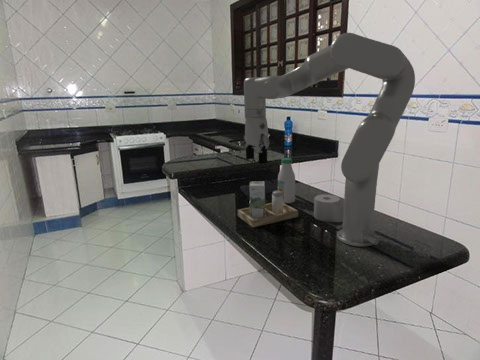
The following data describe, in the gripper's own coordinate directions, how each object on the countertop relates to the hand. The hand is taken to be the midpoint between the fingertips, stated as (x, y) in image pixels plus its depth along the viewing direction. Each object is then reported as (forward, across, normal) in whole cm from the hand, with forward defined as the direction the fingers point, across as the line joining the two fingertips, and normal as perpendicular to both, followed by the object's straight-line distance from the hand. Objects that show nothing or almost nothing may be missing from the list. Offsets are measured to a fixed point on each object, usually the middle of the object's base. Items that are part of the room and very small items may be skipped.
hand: (256, 160), depth 120 cm
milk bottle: (+24, +12, -22) cm, 35 cm away
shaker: (+23, 0, -9) cm, 25 cm away
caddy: (+24, 0, -5) cm, 24 cm away
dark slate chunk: (+25, +33, -21) cm, 46 cm away
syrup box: (+23, 0, 0) cm, 23 cm away
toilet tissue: (+24, -13, -24) cm, 37 cm away
